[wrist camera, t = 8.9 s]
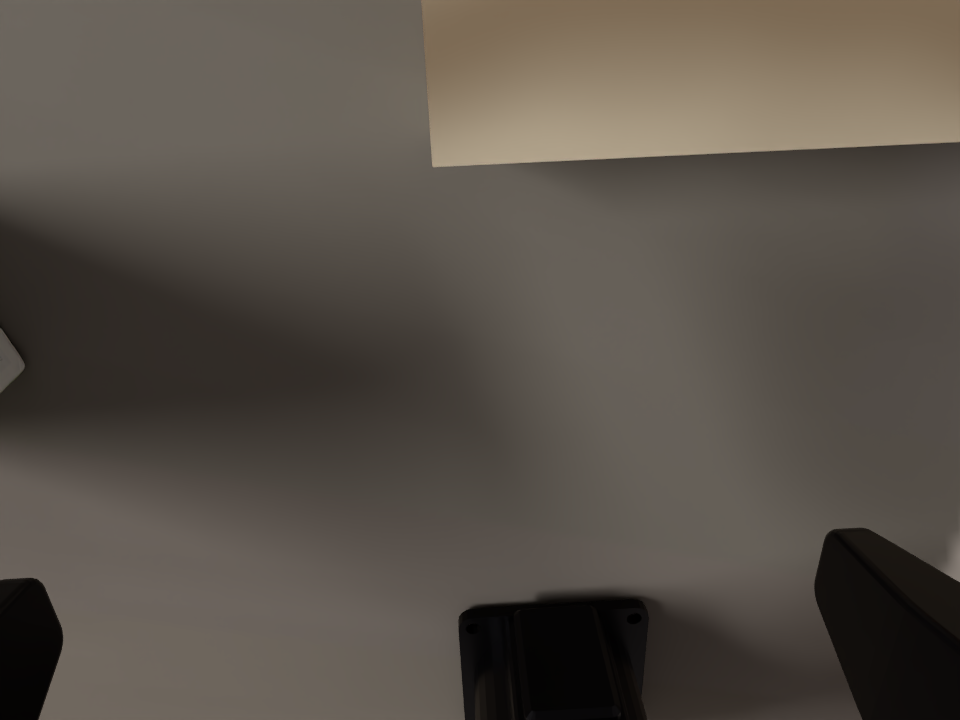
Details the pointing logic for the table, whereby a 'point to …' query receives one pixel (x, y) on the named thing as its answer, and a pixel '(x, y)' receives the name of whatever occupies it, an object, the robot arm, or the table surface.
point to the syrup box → (8, 362)
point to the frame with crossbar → (686, 77)
